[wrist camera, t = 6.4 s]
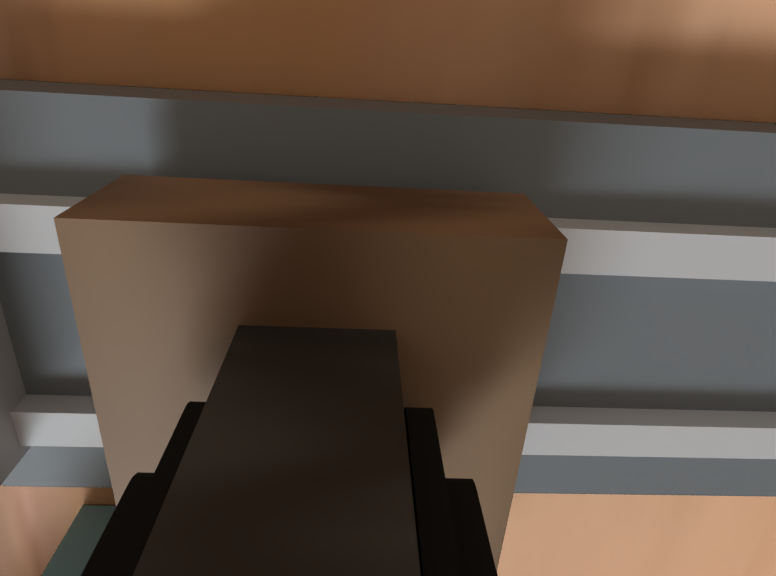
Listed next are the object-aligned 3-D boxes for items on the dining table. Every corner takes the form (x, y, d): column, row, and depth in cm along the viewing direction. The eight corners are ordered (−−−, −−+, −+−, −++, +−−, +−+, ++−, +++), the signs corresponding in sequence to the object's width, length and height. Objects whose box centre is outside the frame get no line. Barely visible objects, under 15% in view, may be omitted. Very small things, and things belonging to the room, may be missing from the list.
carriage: (523, 193, 13) (931, 621, 4) (474, 483, 16) (608, 1039, 7) (123, 174, 12) (-607, 622, 3) (170, 479, 16) (-84, 1073, 7)
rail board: (962, 133, 15) (1207, 177, 11) (799, 456, 21) (921, 576, 16) (-67, 75, 14) (-277, 99, 9) (37, 442, 19) (-65, 572, 14)
